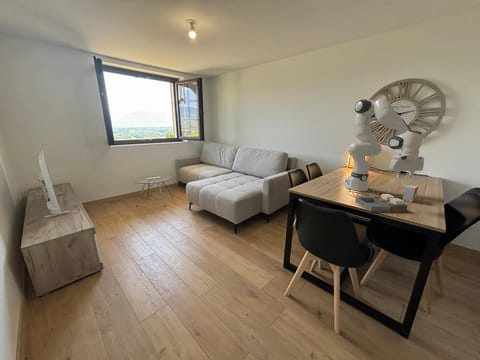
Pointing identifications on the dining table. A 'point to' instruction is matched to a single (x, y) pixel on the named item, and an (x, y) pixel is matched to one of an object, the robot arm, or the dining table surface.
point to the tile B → (396, 201)
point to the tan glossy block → (393, 205)
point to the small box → (410, 193)
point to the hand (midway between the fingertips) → (403, 177)
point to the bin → (373, 204)
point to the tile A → (386, 196)
